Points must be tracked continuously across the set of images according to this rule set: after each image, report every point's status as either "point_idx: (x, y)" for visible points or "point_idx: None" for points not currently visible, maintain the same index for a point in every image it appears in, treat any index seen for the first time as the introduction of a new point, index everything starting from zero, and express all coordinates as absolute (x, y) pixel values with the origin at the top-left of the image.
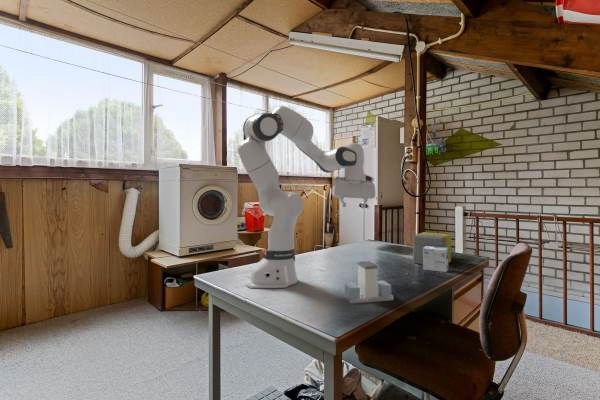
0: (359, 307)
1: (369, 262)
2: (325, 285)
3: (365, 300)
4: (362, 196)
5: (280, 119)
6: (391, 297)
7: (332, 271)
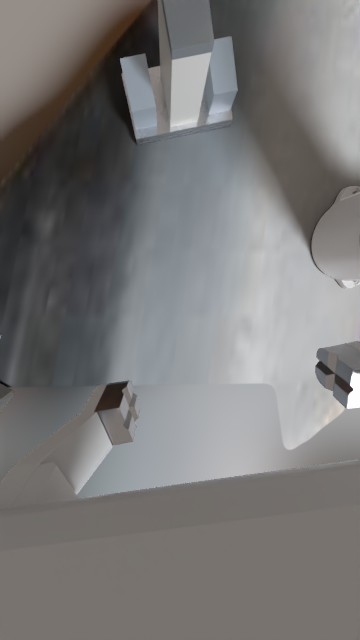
0: None
1: (174, 25)
2: (256, 205)
3: None
4: (74, 515)
5: None
6: None
7: (224, 318)
